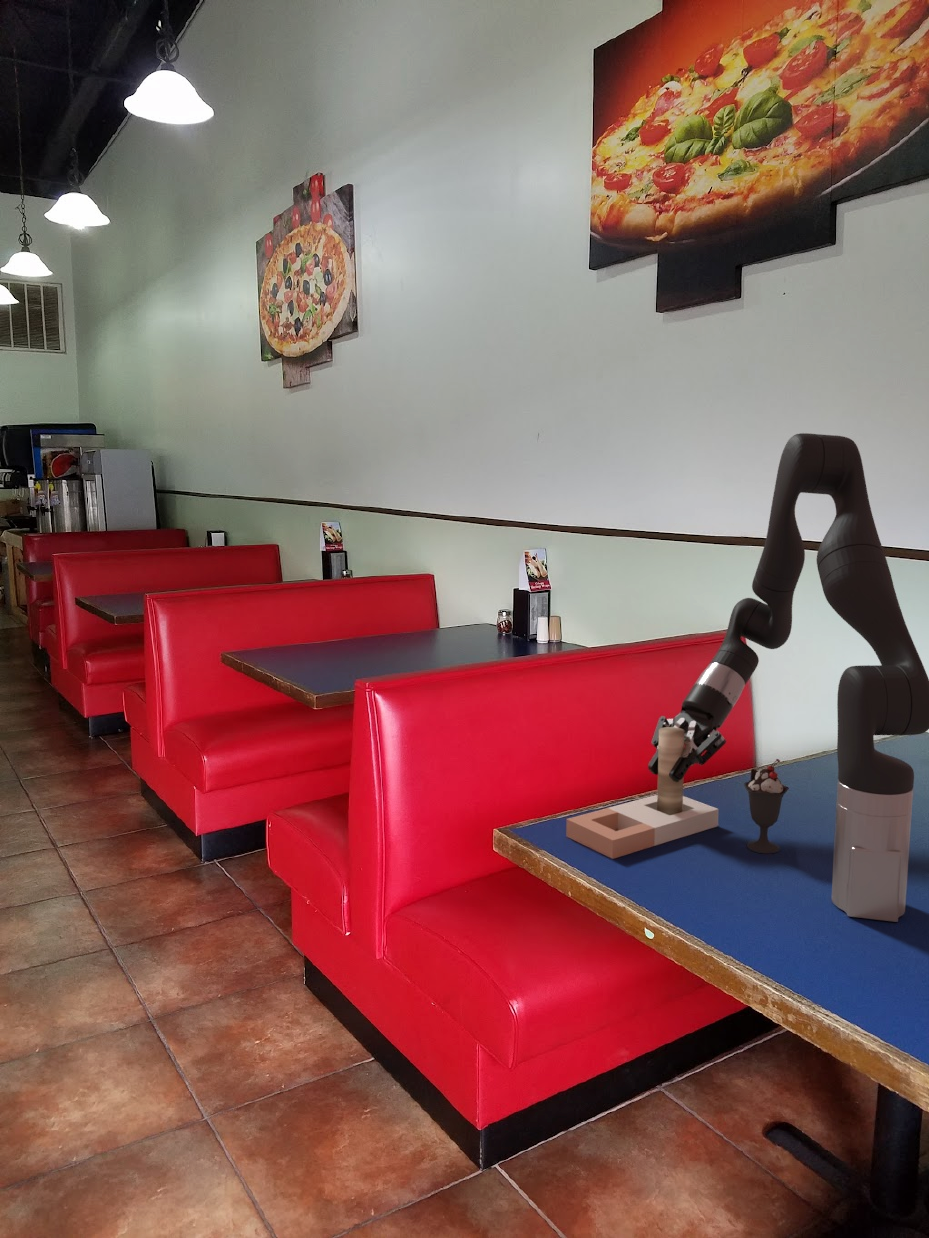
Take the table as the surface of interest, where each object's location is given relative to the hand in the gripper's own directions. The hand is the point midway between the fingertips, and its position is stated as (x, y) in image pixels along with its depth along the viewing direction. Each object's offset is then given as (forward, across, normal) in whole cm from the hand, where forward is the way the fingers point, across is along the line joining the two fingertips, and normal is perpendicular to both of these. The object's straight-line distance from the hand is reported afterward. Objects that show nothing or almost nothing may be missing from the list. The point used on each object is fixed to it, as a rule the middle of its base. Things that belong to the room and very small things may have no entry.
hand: (662, 775), depth 151 cm
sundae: (+2, +16, +11) cm, 19 cm away
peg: (+3, 0, +6) cm, 7 cm away
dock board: (+9, 0, +4) cm, 10 cm away
